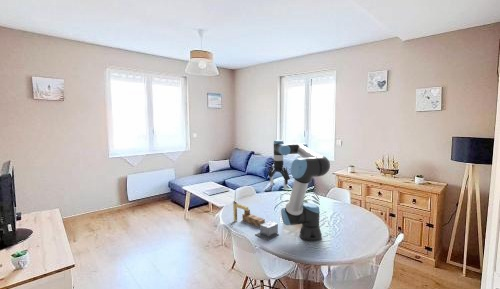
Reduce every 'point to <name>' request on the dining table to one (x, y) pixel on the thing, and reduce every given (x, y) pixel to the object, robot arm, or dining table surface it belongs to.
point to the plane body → (252, 218)
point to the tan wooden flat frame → (236, 209)
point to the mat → (265, 236)
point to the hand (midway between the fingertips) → (278, 186)
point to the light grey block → (268, 229)
